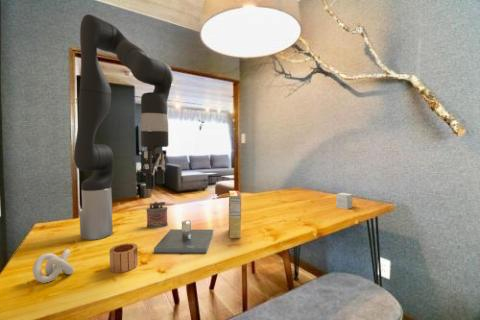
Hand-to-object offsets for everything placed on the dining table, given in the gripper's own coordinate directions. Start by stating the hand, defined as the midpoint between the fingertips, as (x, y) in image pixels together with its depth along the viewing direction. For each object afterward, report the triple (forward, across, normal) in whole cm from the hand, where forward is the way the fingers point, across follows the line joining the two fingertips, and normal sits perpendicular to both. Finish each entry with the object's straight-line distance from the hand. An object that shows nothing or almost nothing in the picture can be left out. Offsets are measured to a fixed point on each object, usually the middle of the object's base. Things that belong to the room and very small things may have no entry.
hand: (155, 186), depth 67 cm
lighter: (+21, -26, -9) cm, 34 cm away
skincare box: (+21, -53, +81) cm, 99 cm away
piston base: (+21, -9, +7) cm, 24 cm away
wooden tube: (+21, +6, -6) cm, 23 cm away
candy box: (+21, -17, +23) cm, 35 cm away
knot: (+21, +11, -21) cm, 32 cm away
